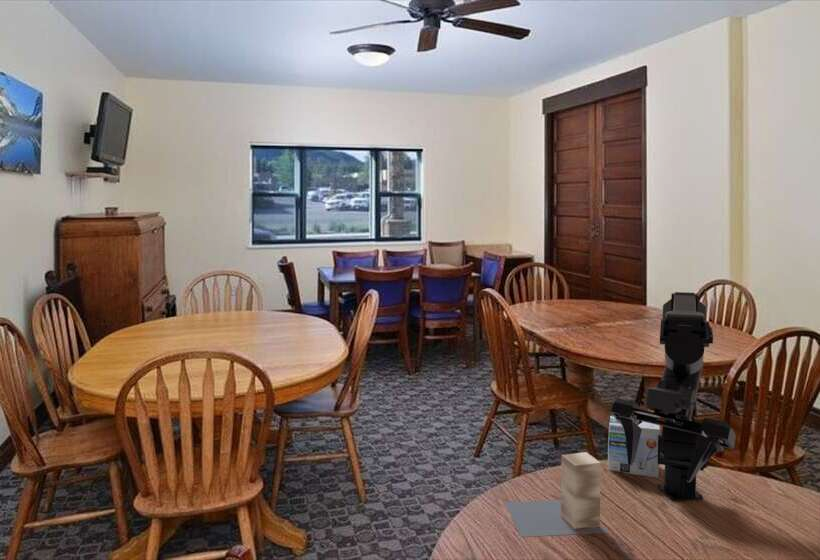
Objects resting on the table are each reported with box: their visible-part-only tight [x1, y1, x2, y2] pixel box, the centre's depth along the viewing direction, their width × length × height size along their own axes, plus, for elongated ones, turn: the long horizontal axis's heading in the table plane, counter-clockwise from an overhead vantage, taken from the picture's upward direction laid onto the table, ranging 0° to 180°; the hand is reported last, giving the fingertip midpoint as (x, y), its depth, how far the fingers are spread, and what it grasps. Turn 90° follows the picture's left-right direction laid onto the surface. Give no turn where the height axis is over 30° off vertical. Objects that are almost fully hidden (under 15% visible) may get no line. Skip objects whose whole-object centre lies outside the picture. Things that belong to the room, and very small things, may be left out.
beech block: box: [560, 451, 602, 531], centre depth 109 cm, size 5×5×12 cm
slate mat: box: [504, 499, 608, 538], centre depth 112 cm, size 13×16×1 cm
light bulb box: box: [607, 415, 661, 478], centre depth 132 cm, size 11×7×11 cm, turn 70°
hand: (658, 473), depth 97 cm, fingers open, 9 cm apart
